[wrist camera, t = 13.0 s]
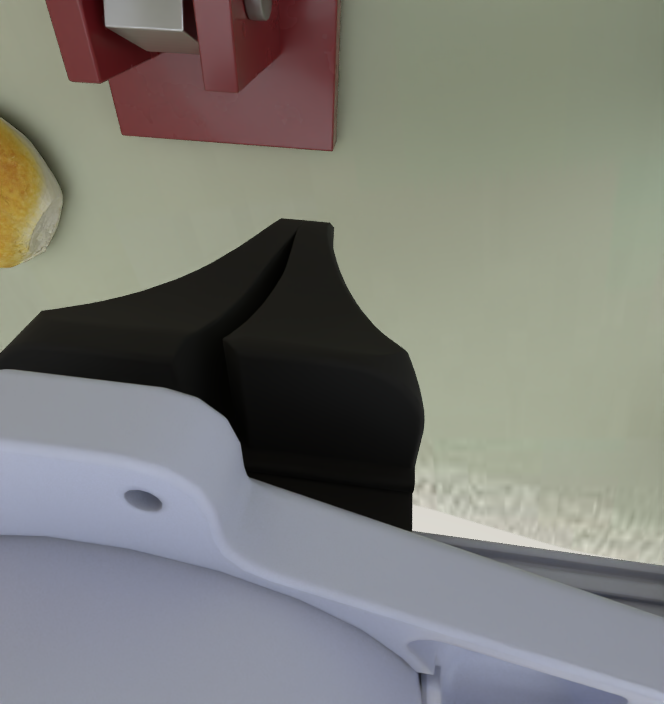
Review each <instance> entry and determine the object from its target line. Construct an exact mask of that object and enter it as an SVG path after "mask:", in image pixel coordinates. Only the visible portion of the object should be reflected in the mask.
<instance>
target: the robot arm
mask: <svg viewBox="0 0 664 704" xmlns="http://www.w3.org/2000/svg"><path fill="white" fill-rule="evenodd" d="M333 239H334V227H333V226H332V225H331V224H330V223H327V222H316V221H305V220H294V219H282V218H281V219H280V220H278V221H276V222H275V223H273V224H272V225H270V226H269V227H267V228H266V229H264V230H263V231H262V232H260V233H259V234H257V235H256V236H254V237H253V238H251V239H250V240H248V241H247V242H245V243H244V244H243V245H241V246H240V247H238V248H236V249H235V250H233V251H231V252H229V253H228V254H226V255H224V256H223V257H221V258H219V259H218V260H216V261H214V262H213V263H211V264H209V265H207V266H205V267H203V268H201V269H199V270H197V271H194V272H192V273H190V274H188V275H185V276H183V277H181V278H178V279H176V280H173V281H170V282H167V283H164V284H161V285H158V286H156V287H153V288H150V289H147V290H144V291H141V292H137V293H133V294H130V295H126V296H122V297H118V298H114V299H109V300H105V301H100V302H95V303H90V304H84V305H78V306H71V307H65V308H59V309H53V310H45V311H41V312H40V313H39V314H38V315H37V316H36V317H35V318H34V319H33V320H32V321H31V322H30V323H29V324H28V325H27V326H26V327H25V328H24V329H23V330H22V331H21V333H20V334H19V335H18V336H17V337H16V338H15V339H14V340H13V341H12V342H11V343H10V344H9V345H8V346H7V347H6V348H5V349H4V350H3V351H2V352H1V353H0V704H664V566H662V565H654V564H647V563H640V562H633V561H626V560H618V559H611V558H604V557H597V556H590V555H582V554H575V553H568V552H561V551H553V550H546V549H539V548H532V547H525V546H517V545H510V544H503V543H496V542H488V541H481V540H474V539H467V538H460V537H452V536H445V535H438V534H430V533H423V532H416V531H412V493H413V491H414V485H415V464H416V459H417V455H418V451H419V447H420V443H421V439H422V435H423V431H424V408H423V402H422V397H421V392H420V388H419V384H418V381H417V377H416V374H415V371H414V368H413V365H412V362H411V360H410V357H409V354H408V353H407V352H406V350H404V349H403V348H402V347H400V346H399V345H398V344H396V343H395V342H393V341H392V340H391V339H389V338H388V337H387V336H385V335H384V334H383V333H382V332H381V331H380V330H378V329H377V328H376V327H375V326H374V325H373V323H372V322H371V321H370V320H369V319H368V317H367V316H366V315H365V314H364V313H363V312H362V310H361V309H360V307H359V306H358V304H357V303H356V301H355V300H354V298H353V297H352V295H351V293H350V292H349V290H348V288H347V286H346V284H345V282H344V279H343V277H342V275H341V272H340V270H339V267H338V264H337V261H336V257H335V254H334V250H333Z"/></svg>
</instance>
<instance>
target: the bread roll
mask: <svg viewBox="0 0 664 704" xmlns="http://www.w3.org/2000/svg"><path fill="white" fill-rule="evenodd" d="M62 206H63V195H62V191H61V189H60V186H59V184H58V182H57V180H56V179H55V177H54V175H53V173H52V172H51V170H50V169H49V167H48V166H47V164H46V163H45V161H44V160H43V158H42V157H41V155H40V154H39V153H38V151H37V150H36V148H35V147H34V146H33V144H32V143H31V141H30V140H29V139H28V138H27V137H25V136H24V135H23V134H22V133H21V132H20V131H18V130H17V129H16V128H14V127H13V126H12V125H11V124H9V123H8V122H7V121H5V120H4V119H2V118H1V117H0V268H10V267H13V266H16V265H18V264H20V263H22V262H26V261H28V260H30V259H32V258H33V257H34V256H37V255H39V254H40V253H42V252H45V250H46V249H47V246H48V245H49V244H50V241H51V239H52V237H53V235H54V233H55V231H56V229H57V227H58V224H59V219H60V216H61V210H62Z"/></svg>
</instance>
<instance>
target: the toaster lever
mask: <svg viewBox="0 0 664 704" xmlns="http://www.w3.org/2000/svg"><path fill="white" fill-rule="evenodd" d="M103 7H104V23H105V27H106V28H108V29H110V30H111V31H113V32H115V33H117V34H118V35H120V36H122V37H124V38H125V39H127V40H129V41H130V42H132V43H134V44H136V45H137V46H139V47H141V48H143V49H144V50H146V51H151V52H167V53H183V54H200V52H199V45H198V37H197V29H196V22H195V14H194V7H193V0H103Z"/></svg>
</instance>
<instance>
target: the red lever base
mask: <svg viewBox="0 0 664 704" xmlns="http://www.w3.org/2000/svg"><path fill="white" fill-rule="evenodd" d="M45 1H46V4H47V8H48V11H49V14H50V18H51V21H52V25H53V28H54V31H55V35H56V38H57V41H58V45H59V48H60V52H61V55H62V58H63V62H64V65H65V68H66V72H67V75H68V79H69V80H70V81H72V82H82V83H97V84H101V83H103V82H105V81H107V80H108V81H109V85H110V89H111V93H112V97H113V101H114V105H115V109H116V113H117V117H118V121H119V125H120V129H121V133H122V135H126V136H139V137H152V138H165V139H178V140H191V141H204V142H217V143H230V144H243V145H256V146H269V147H282V148H295V149H308V150H321V151H333V149H334V146H335V143H336V138H337V109H338V80H339V51H340V22H341V0H193V7H194V14H195V22H196V29H197V37H198V45H199V52H200V54H183V53H167V52H151V51H146V50H144V49H143V48H141V47H139V46H137V45H136V44H134V43H132V42H130V41H129V40H127V39H125V38H124V37H122V36H120V35H118V34H117V33H115V32H113V31H111V30H110V29H108V28H106V27H105V23H104V7H103V0H45Z"/></svg>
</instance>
